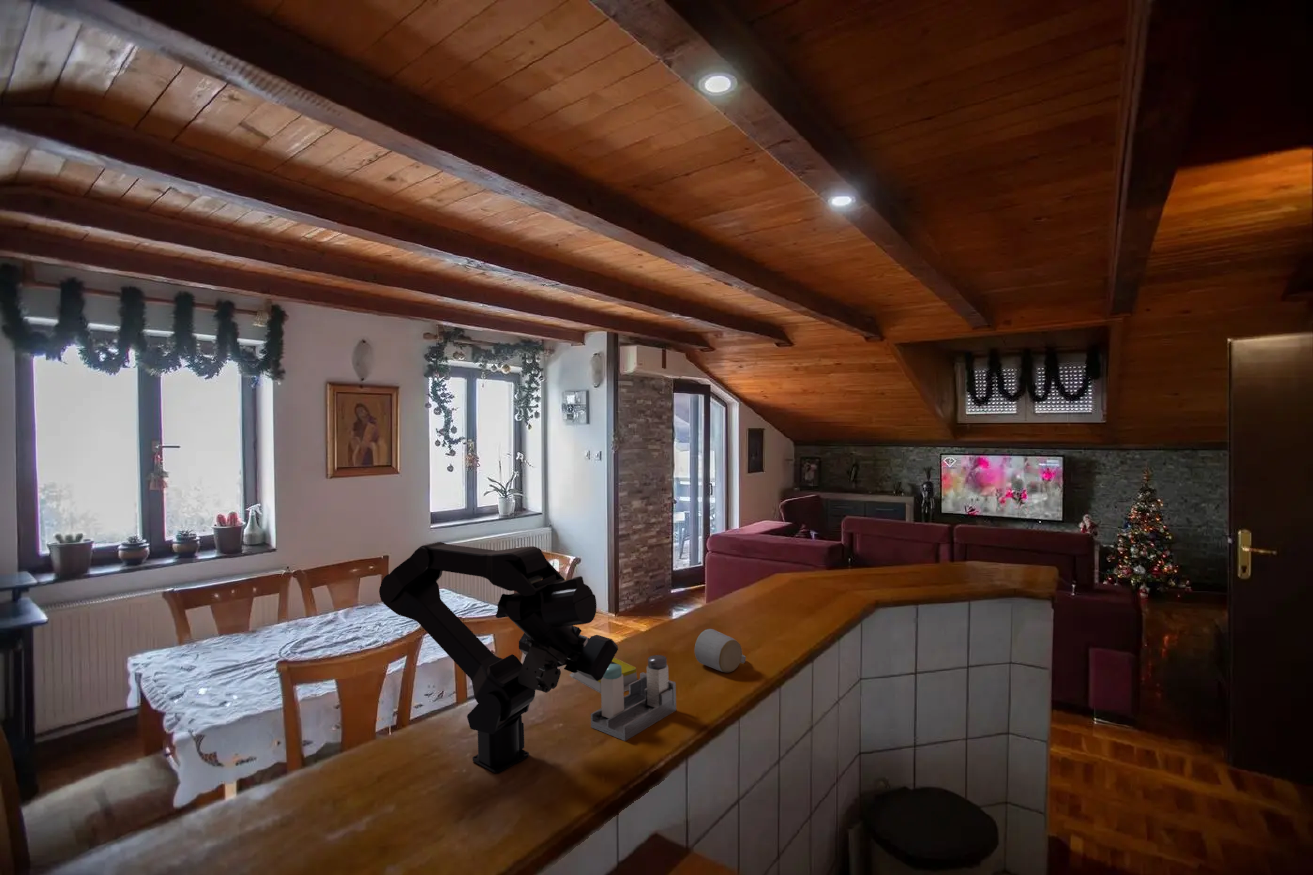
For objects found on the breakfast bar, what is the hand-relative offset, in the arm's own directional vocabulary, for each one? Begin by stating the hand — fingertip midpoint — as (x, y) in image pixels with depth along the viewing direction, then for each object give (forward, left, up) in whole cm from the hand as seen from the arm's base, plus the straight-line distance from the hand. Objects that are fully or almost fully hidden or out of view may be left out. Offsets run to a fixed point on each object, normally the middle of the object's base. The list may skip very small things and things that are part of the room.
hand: (592, 673), depth 104 cm
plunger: (+5, 0, -9) cm, 11 cm away
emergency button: (+18, +15, -11) cm, 26 cm away
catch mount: (+9, -2, -11) cm, 14 cm away
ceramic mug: (+39, -1, -11) cm, 40 cm away
